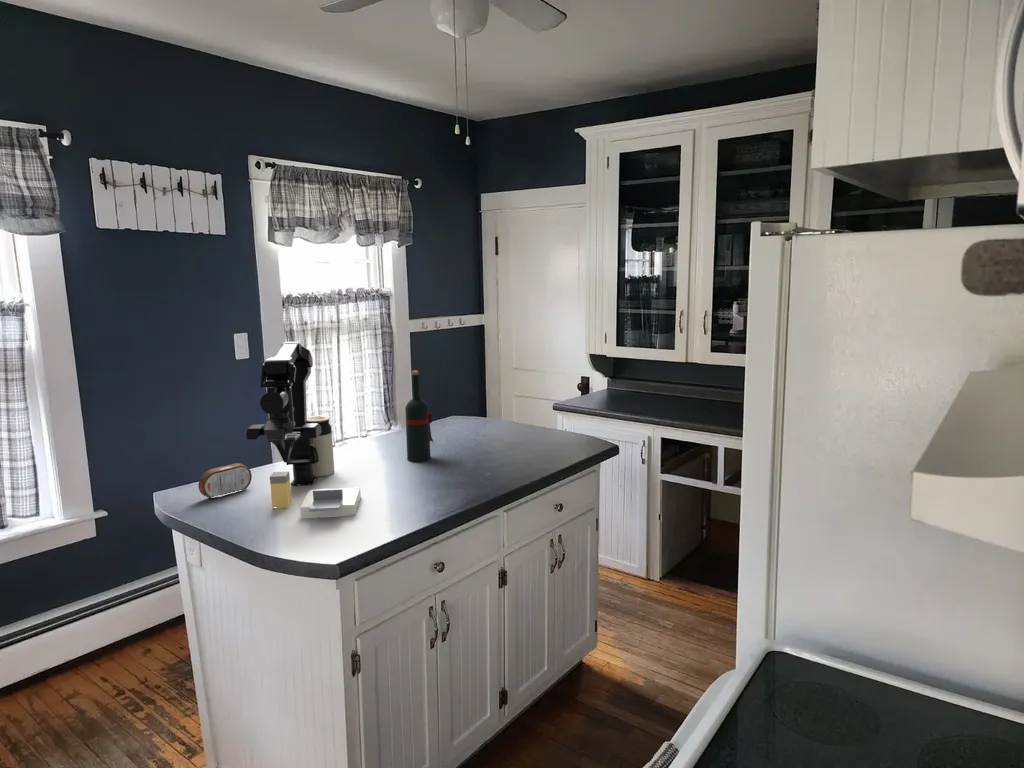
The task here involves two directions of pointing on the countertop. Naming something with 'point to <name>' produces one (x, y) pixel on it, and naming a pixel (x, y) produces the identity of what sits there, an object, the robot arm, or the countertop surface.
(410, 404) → the wine bottle
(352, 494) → the socket block
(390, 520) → the countertop surface
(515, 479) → the countertop surface
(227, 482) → the tin
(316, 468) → the travel mug
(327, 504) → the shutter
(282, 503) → the plug
